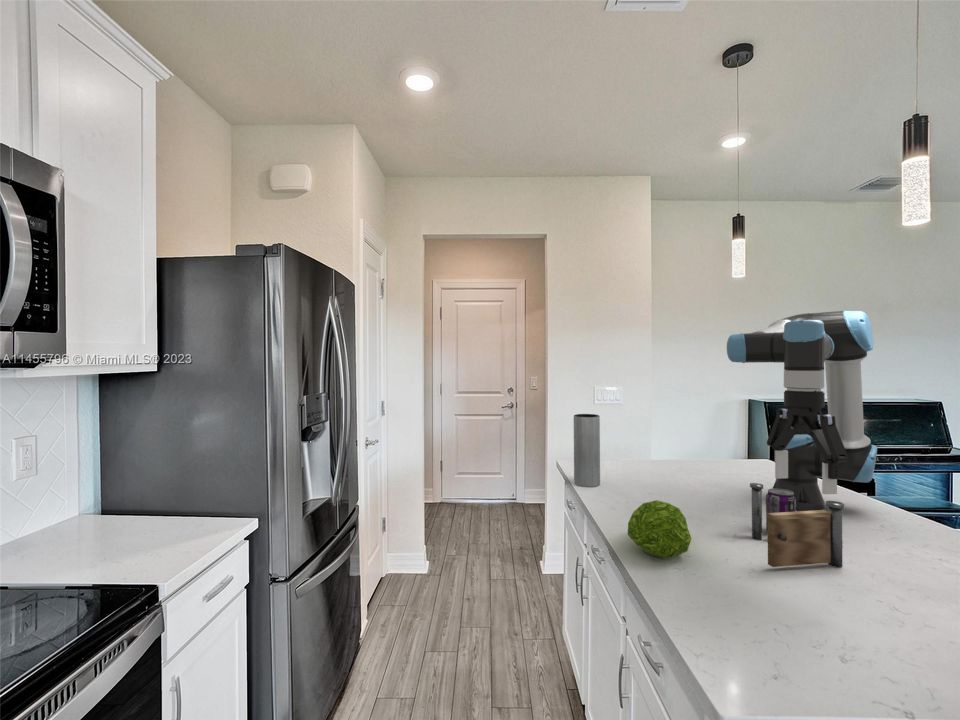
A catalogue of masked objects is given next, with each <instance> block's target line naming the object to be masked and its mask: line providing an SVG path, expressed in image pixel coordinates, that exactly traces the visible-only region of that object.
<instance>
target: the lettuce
mask: <svg viewBox="0 0 960 720" xmlns="http://www.w3.org/2000/svg"><path fill="white" fill-rule="evenodd" d="M627 524H628V525H627V536H628V537H629V538H630V539H631V540H632V541H633V542H634V544H636V546H638V547H639V548H640V549H641V550H642V551H643V552H644V553H647V554H649V555H652V556H653V557H657V558H664V559H671V558H675V557H678V556H680V555H682V554H684V553H686V552H688V550H689V546H690V545H691V542H692V535H691V533H690V530H689V527H688V523H687V518H686V517H685V515H684V514H683V512H682V511H681V509H680V508H679V507H677V506H675V505H673V504H671V503H670V502H666V501H662V500H657V499H656V500H651V501H648V502H643V503H641V505H639V506H638V507H637V508H636V509H635V510H633V512H632V514H631V516H630V518H629V520H628V523H627Z"/></svg>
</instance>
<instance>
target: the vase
mask: <svg viewBox="0 0 960 720" xmlns="http://www.w3.org/2000/svg"><path fill="white" fill-rule="evenodd" d="M600 420H601V418H600V415H599V414H593V413H576V414H574V415H573V483H574V485H575V486H577V487H584V488H596V487H598V486H600V485H601V453H600V452H601V440H600V439H601V435H600V434H601V430H600V429H601V428H600V427H601V421H600Z"/></svg>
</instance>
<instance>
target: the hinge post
mask: <svg viewBox="0 0 960 720" xmlns="http://www.w3.org/2000/svg"><path fill="white" fill-rule="evenodd" d="M825 506H826V507H827V511H829V512H831V517H830V554H831V563H827V565H829V566H830V567H832V568H843V564H844V563H843V510H844V509H845V503H843V502H842V501H841V502H840V501H836V500H827V501H826V500H825Z"/></svg>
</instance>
